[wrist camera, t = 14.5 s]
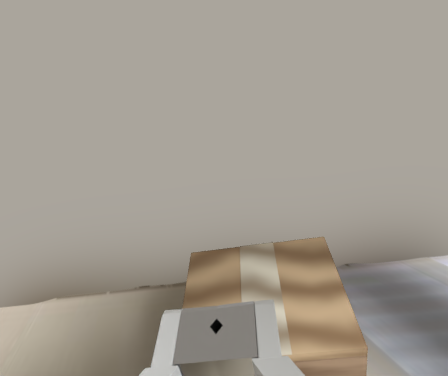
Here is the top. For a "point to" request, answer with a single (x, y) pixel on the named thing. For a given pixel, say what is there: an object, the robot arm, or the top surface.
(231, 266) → the lid
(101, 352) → the top surface
